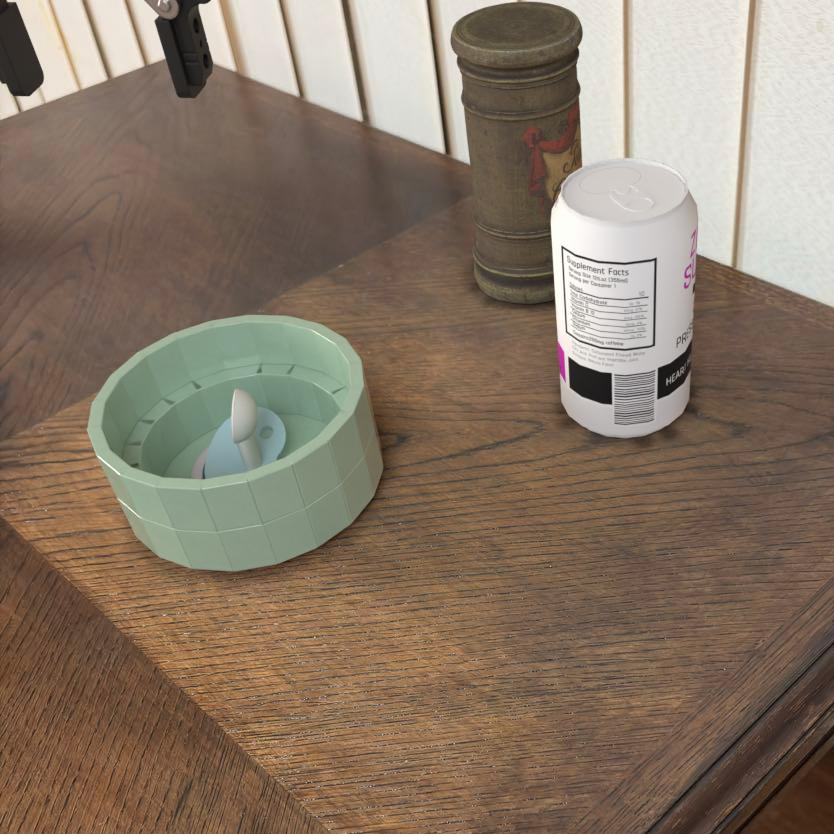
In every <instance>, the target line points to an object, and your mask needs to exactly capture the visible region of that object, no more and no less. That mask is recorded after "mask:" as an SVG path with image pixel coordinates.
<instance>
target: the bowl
mask: <svg viewBox="0 0 834 834" xmlns="http://www.w3.org/2000/svg"><path fill="white" fill-rule="evenodd" d="M235 389H242V390H244V391H246V392H248V393H249V394H250V395H251V396H252V397H253V399H254V401H255V403H256V405H257V407H262V408H267V409H269V410H271V411H273V412H274V413H275V414H276V415H278V417H279V418H280V419H281V421H282V422H283V424H284V427H285V432H286V445H285V448H284V451H283V453H282V455H281V456H280V457H279V458H278V460H277V461H274V462H272V463H269V464H266V465H264V466H261V467H258V468H256V469H253V470H251V471H248V472H244V473H238V474H232V475H226V476H220V477H214V478H208V479H206V478H205V479H191V472H192V468H193V465H194V463H195V461H196V459H197V458H198V456H199V455H200V454H201V453H202V451H203V450H204V449H205V448H207V447H208V446H209V445H210V444H211V442H212V440H213V438H214V436H215V434H216V432H217V431H218V429H219V428H220V427H221V425H222V424H223V423H224V422H225V421H226V420H227V419H228V418H229V417H231V413H232V401H233V395H234V391H235ZM89 411H90V412H89V417H88V424H87V429H86V431H87V435H88V437H89V440H90V443H91V445H92V448H93V450H94V453H95V456H96V458H97V460H98V462H99V465H100V466H101V468H102V470H103V473H104V474H105V476H106V479H107V481H108V482H109V484H110V486H111V489H112V491H113V493H114V495H115V497H116V499H117V501H118V503H119V505H120V507H121V509H122V511H123V513H124V515H125V517H126V519H127V521H128V523H129V525H130V528H131V530H132V531H133V534H134V536H135V537H136V538H137V539H138V540H139V541H140V542H141V543H142V544H144V545H145V546H146V547H147V548H148V549H149V550H150V551H151V552H153V553H154V554H155V555H156V556H157V557H159V558H161V559H163V560H166V561H168V562H171V563H174V564H176V565H180V566H182V567H184V568H188V569H191V570H201V571H216V572H217V571H219V572H233V573H234V572H240V571H246V570H253V569H258V568H265V567H269V566H275V565H276V566H277V565H279V564H282V563H285V562H286V561H289V560H291V559H295V558H297V557H299V556H301V555H304V554H306V553H308V552H311V551H314V550H317V549H318V548H320V547H321V546H322V545H324V544H325V543H327V542H328V541H329V540H331V539H333V538H334V537H335V536H336V535H338V534H339V533H341V532H342V531H343V530H345V529H346V528H348V527H349V526H351V524H353V523H354V522H355V521H356V519H357V518H358V517H359V515H360V514H361V512H363V510H365V508H366V507H367V506H368V504H369V503H370V502H371V501H372V500H373V498H374V496H375V494H376V491H377V488H378V485H379V483H380V480H381V477H382V475H383V471H384V461H383V460H384V459H383V452H382V451H383V450H382V444H381V443H382V442H381V439H380V434H379V430H378V429H379V428H378V426H377V421H376V417H375V412H374V408H373V404H372V398H371V395H370V390H369V386H368V381H367V377H366V373H365V368H364V363H363V361H362V358H361V357H360V356H359V354H358V353H357V351H356V350H355V348H354V347H353V346H352V345H351V343H350V341H349V340H348V339H347V338H346V337H344V336H342V335H341V334H339V333H338V332H335V331H334V330H332V329H331V328H329V327H327V326H326V325H324V324H322V323H319V322H316V321H311V320H307V319H304V318H300V317H295V316H291V315H283V314H282V315H281V314H280V315H279V314H276V315H275V314H245V315H237V316H230V317H225V318H218V319H212V320H208V321H206V322H202V323H199V324H196V325H193V326H190V327H187V328H185V329H181V330H178V331H175V332H171V333H170V334H168V335H167V336H165V337H163V338H161V339H159V340H157V341H155V342H154V343H152V344H150V345H147V347H144V348H142V349H141V350H139V351H137V352H136V353H134V355H132V356H131V357H130V358H128V359H127V360H126V361H125V362H124V363H123V364H122V365H120V366H119V367H118V368H117V369H116V370H115V371H114V372H112V373H111V374H110V375H109V377H108V378H107V379H106V380H105V383H104V384H103V385H102V387H101V389H100V390H99V392H98V393H97V395H96V396H95V398H94V399H93V401H92V403H91V405H90V410H89ZM272 435H273V431H272V430H270V429H268V430H265V431H264V432H263V433H262V435H261V438H262V439H269V438H270V437H271V436H272Z"/></svg>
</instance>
